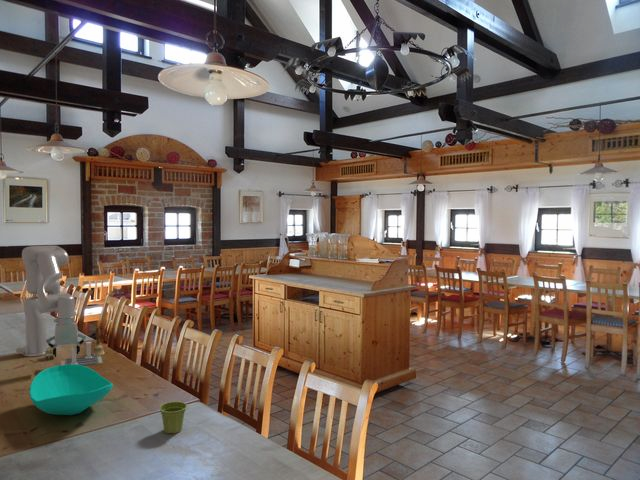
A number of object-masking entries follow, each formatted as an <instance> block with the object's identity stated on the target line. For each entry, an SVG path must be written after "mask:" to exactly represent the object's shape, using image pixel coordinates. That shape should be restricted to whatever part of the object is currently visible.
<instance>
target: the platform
mask: <svg viewBox="0 0 640 480" xmlns="http://www.w3.org/2000/svg"><path fill="white" fill-rule="evenodd" d="M48 349H49V350H48ZM44 355H46V356H47V358H48V360H50V359H52V360H54V358H55V355H53V349H52V348H51V347H50V348H47V351H45V354H44Z"/></svg>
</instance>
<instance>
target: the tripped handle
mask: <svg viewBox="0 0 640 480" xmlns="http://www.w3.org/2000/svg"><path fill="white" fill-rule="evenodd" d="M70 351H71V358H72V363H71V364H78V363H76V357H77V346H76V347H74V346H73V347H71V349H70Z"/></svg>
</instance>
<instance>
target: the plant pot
mask: <svg viewBox="0 0 640 480" xmlns="http://www.w3.org/2000/svg"><path fill="white" fill-rule="evenodd" d="M187 407H188V405H187V403H186V402H184V401H170V402H165V403H162V404H161V405H160V406H159V411H160V414H161V419H162V425H163V432H164V433H166V434H169V435H170V434H177V433H179V432H181V431H182V429H183V423H184V417H185V412H186V409H187Z"/></svg>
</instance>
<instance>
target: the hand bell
mask: <svg viewBox="0 0 640 480" xmlns="http://www.w3.org/2000/svg"><path fill="white" fill-rule="evenodd" d="M101 333H102V332H101V329H100V326H96V329H95V333H94V335H95V338H96V345H95V346H94V347H93V349H92V350H93V351H92V352H91V356H93V355H95V356H101V355H104V354H105V351H104V346H103V345H101V339H100V338H101V335H102V334H101Z"/></svg>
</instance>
